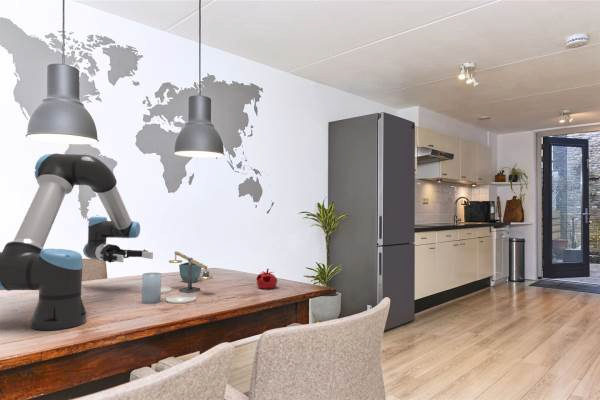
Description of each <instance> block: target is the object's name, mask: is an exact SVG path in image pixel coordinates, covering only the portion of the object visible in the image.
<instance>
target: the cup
mask: <svg viewBox="0 0 600 400" xmlns="http://www.w3.org/2000/svg"><path fill="white" fill-rule="evenodd" d="M141 281H142V284H141V304H146V305H150V304H157V303H160V302H162V301H161V299H162V298H161V297H162V293H161V286H162V273H161V272H145V273H142V280H141Z"/></svg>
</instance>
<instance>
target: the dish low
mask: <svg viewBox="0 0 600 400" xmlns="http://www.w3.org/2000/svg"><path fill="white" fill-rule="evenodd" d="M196 301H197V296H196V295H194V294H186V293H185V294H172V295H169V296H166V297H165V302H166V303H167V304H177V305H179V304H188V303H189V304H190V303H194V302H196Z"/></svg>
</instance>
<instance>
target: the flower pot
mask: <svg viewBox="0 0 600 400" xmlns="http://www.w3.org/2000/svg"><path fill="white" fill-rule="evenodd" d="M200 263H201V264H203V263H202V262H200ZM178 266H179V275H180V277H181V279H182V281H183V282H184V283H188V261H187V262H184V263H183V262H182V263H179V264H178ZM202 269H203V268H202V267H200V266H198V265H196V264H194V263H193V264H192V283H193V282H197V281H198V280H199V276H201V273H202Z"/></svg>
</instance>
